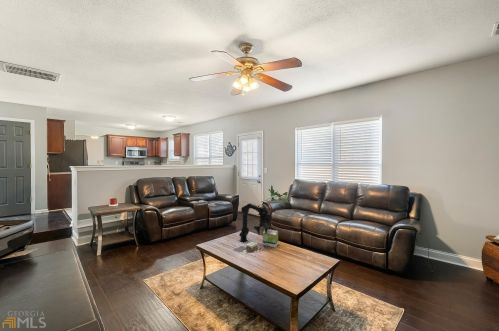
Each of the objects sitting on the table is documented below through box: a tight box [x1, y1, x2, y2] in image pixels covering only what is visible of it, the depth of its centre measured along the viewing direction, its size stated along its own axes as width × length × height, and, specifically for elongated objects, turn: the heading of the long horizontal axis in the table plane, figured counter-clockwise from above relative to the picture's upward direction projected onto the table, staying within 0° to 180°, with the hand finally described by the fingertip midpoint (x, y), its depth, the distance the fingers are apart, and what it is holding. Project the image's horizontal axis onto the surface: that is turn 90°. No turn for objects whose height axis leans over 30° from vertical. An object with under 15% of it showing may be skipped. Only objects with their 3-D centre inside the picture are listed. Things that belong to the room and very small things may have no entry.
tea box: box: [262, 228, 279, 248], centre depth 243 cm, size 15×10×15 cm
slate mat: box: [233, 245, 246, 253], centre depth 232 cm, size 9×13×1 cm
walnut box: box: [245, 244, 258, 254], centre depth 228 cm, size 12×5×6 cm, turn 143°
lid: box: [245, 241, 258, 248], centre depth 228 cm, size 10×6×3 cm, turn 143°
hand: (262, 234), depth 235 cm, fingers open, 9 cm apart
